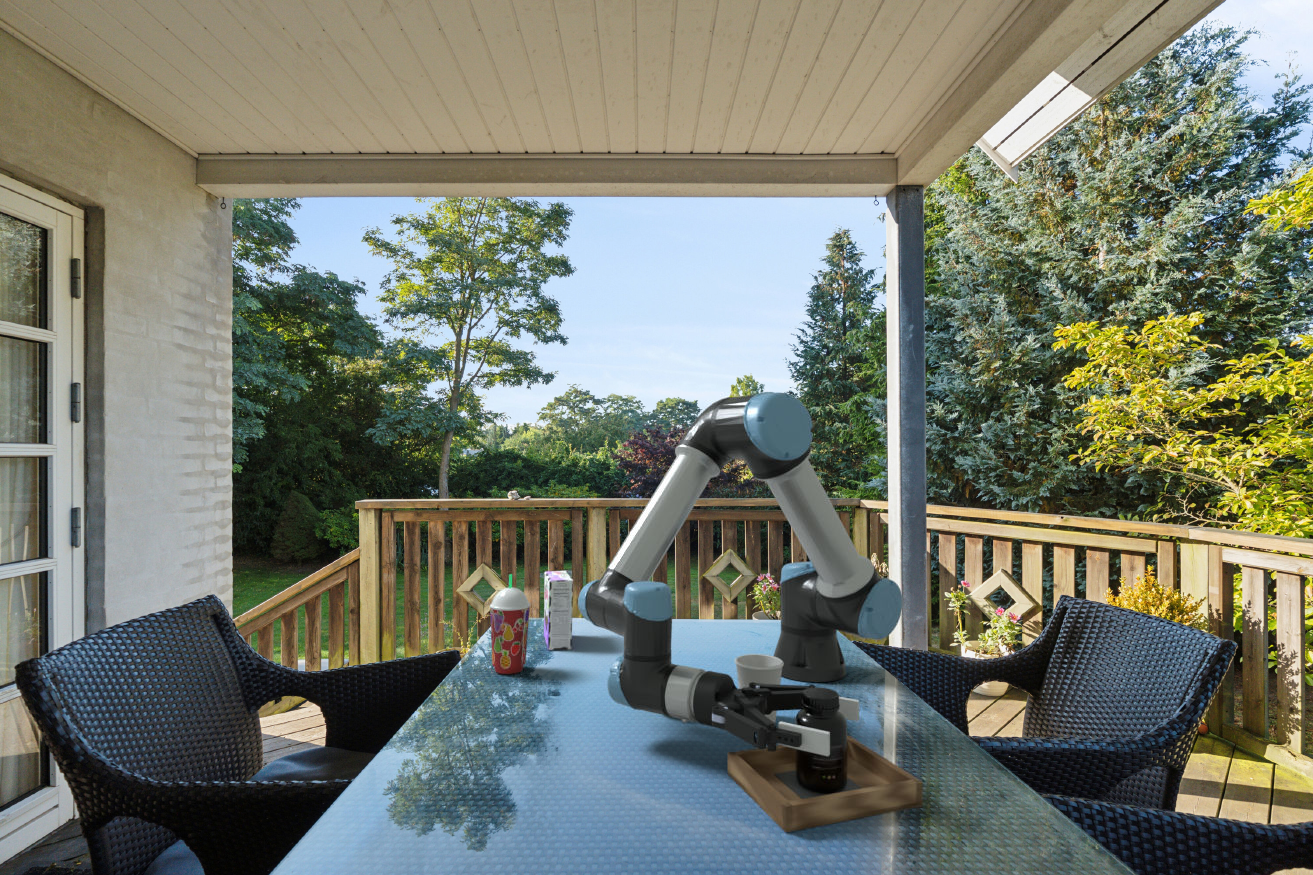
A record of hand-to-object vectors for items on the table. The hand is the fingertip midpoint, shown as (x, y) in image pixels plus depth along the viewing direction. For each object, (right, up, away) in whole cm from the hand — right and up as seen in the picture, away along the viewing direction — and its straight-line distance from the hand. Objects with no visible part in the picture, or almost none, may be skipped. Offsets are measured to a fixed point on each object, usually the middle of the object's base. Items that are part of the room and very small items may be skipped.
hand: (845, 726), depth 90 cm
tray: (-3, -9, +1) cm, 10 cm away
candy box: (-49, -12, +75) cm, 91 cm away
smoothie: (-56, -11, +53) cm, 78 cm away
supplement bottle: (-3, -8, +2) cm, 9 cm away
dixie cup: (-7, -10, +26) cm, 29 cm away
